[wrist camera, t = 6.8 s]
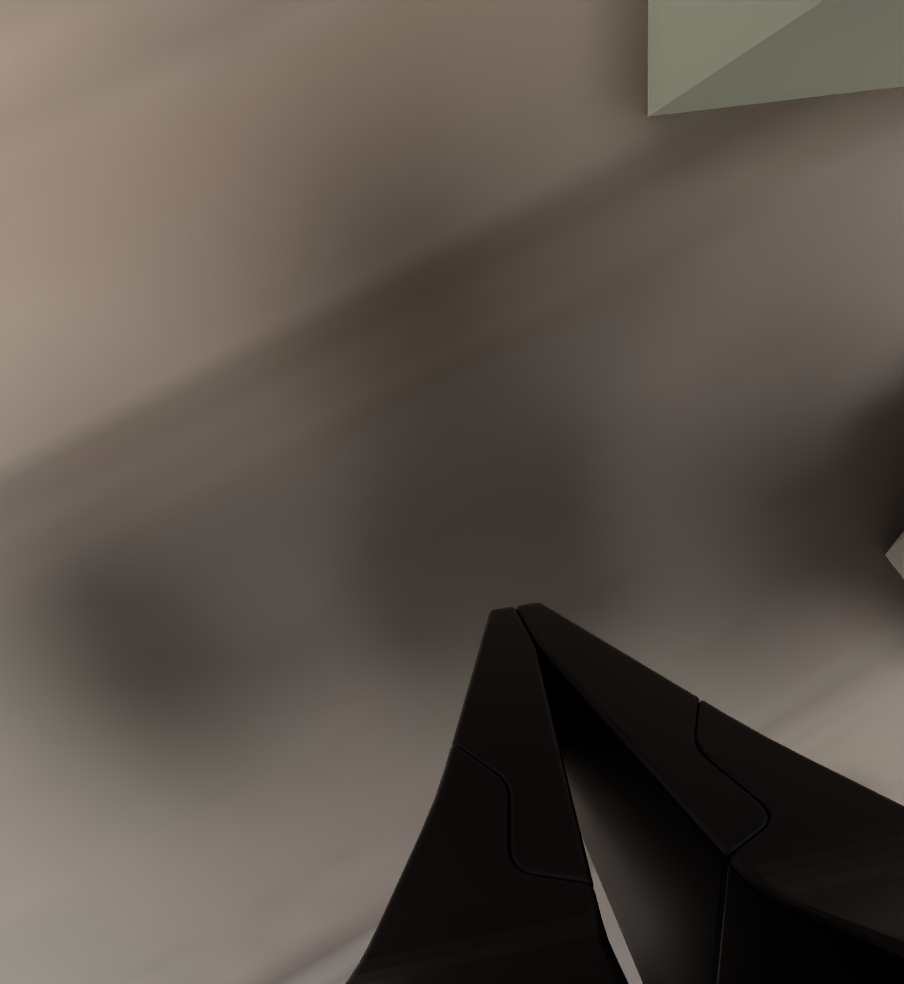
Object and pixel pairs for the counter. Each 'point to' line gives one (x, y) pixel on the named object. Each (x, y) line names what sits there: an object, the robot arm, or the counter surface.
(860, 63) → the sage block
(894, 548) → the die
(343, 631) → the counter surface
